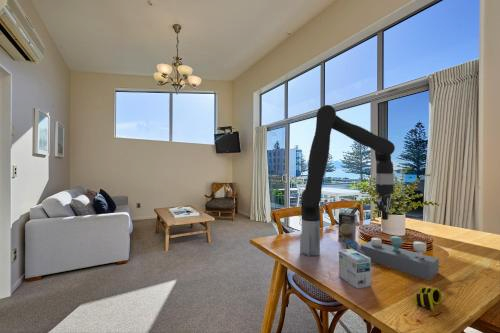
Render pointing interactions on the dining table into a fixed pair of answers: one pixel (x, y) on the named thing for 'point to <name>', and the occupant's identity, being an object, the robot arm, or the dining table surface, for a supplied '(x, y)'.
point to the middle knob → (396, 243)
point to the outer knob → (419, 249)
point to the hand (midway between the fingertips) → (384, 219)
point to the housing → (402, 260)
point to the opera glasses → (428, 297)
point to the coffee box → (347, 227)
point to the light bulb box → (355, 268)
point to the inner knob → (376, 242)
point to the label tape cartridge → (353, 246)
